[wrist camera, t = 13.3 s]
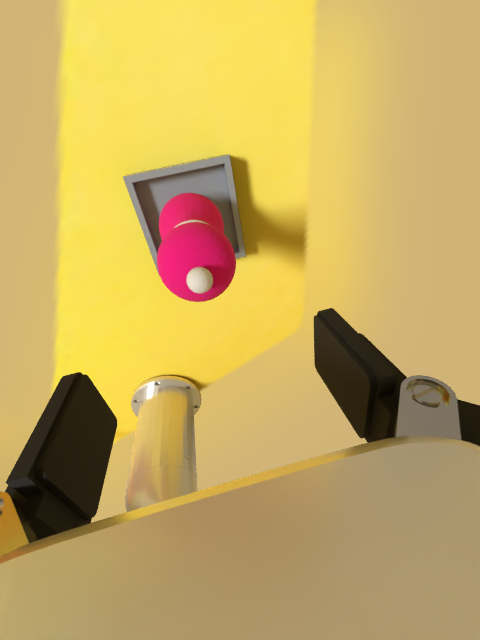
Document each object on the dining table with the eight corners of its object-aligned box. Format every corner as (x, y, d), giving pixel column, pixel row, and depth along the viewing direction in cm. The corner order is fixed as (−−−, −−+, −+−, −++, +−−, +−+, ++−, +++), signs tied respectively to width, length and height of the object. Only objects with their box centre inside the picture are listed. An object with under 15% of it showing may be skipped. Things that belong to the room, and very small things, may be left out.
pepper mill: (153, 235, 34) (128, 315, 17) (171, 176, 31) (161, 206, 14) (206, 255, 37) (228, 342, 20) (228, 204, 34) (274, 255, 17)
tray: (242, 250, 38) (245, 256, 36) (160, 269, 37) (159, 276, 35) (226, 154, 32) (229, 154, 29) (126, 175, 31) (122, 176, 29)
